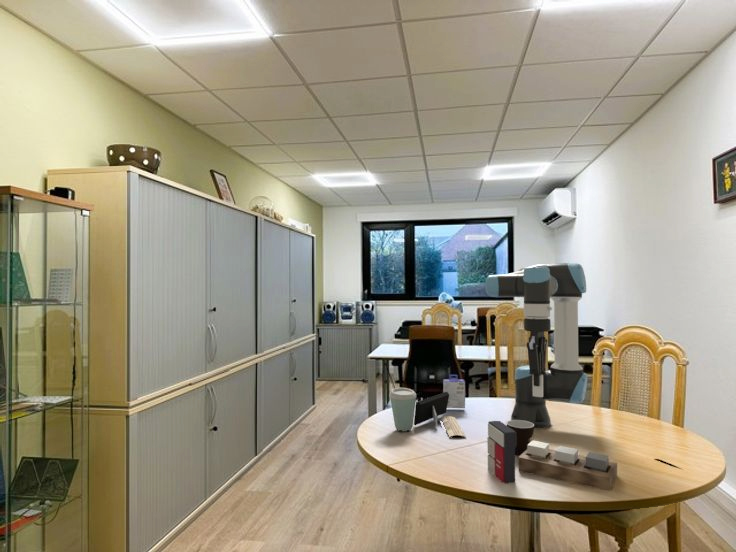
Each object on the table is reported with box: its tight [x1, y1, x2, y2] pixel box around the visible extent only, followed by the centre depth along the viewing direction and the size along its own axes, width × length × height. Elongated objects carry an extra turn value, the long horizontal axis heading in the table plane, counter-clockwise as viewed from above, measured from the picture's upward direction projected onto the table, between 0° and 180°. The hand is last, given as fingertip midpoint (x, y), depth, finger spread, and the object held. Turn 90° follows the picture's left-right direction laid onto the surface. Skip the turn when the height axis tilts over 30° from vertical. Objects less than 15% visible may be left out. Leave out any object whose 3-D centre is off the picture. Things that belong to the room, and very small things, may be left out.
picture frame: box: [413, 392, 449, 428], centre depth 187 cm, size 22×10×10 cm
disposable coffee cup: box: [388, 387, 417, 432], centre depth 175 cm, size 11×11×15 cm
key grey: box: [555, 445, 579, 466], centre depth 130 cm, size 5×5×5 cm
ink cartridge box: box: [442, 374, 466, 409], centre depth 205 cm, size 10×6×14 cm, turn 83°
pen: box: [653, 458, 684, 471], centre depth 135 cm, size 2×14×2 cm, turn 15°
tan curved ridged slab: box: [440, 415, 467, 439], centre depth 176 cm, size 24×7×2 cm, turn 178°
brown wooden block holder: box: [518, 448, 618, 492], centre depth 130 cm, size 24×12×5 cm, turn 53°
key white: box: [527, 440, 550, 459], centre depth 135 cm, size 5×5×5 cm
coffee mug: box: [506, 419, 535, 457], centre depth 149 cm, size 12×9×10 cm
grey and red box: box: [486, 420, 517, 484], centre depth 130 cm, size 11×4×15 cm, turn 9°
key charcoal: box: [585, 451, 610, 473], centre depth 125 cm, size 5×5×5 cm
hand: (538, 396), depth 135 cm, fingers closed
